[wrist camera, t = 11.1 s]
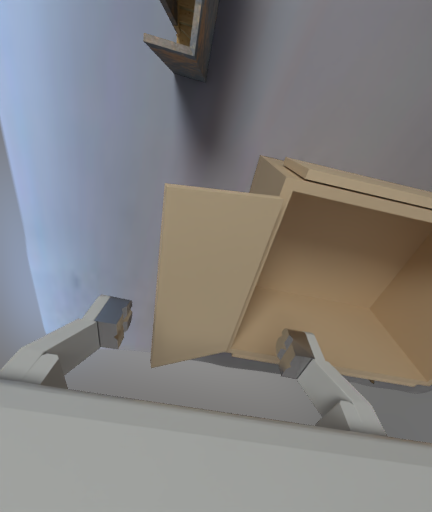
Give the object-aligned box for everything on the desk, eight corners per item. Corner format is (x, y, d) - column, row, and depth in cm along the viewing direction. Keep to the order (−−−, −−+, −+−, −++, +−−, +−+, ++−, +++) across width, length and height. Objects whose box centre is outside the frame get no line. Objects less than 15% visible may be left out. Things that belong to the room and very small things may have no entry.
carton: (262, 148, 19) (291, 164, 11) (460, 196, 21) (624, 244, 12) (222, 285, 28) (220, 356, 19) (365, 312, 29) (423, 390, 21)
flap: (278, 196, 11) (165, 183, 9) (284, 199, 11) (166, 186, 9) (223, 346, 18) (150, 361, 16) (226, 351, 18) (151, 368, 15)
